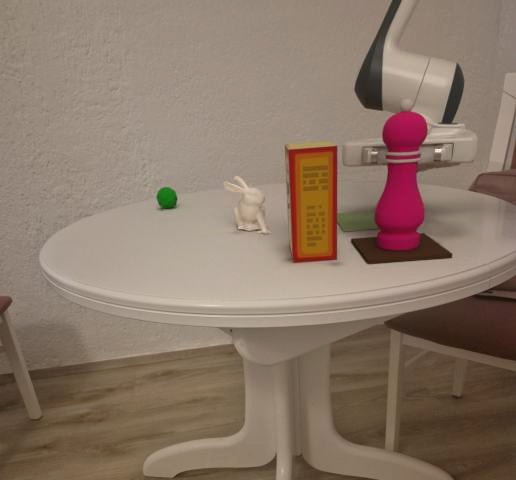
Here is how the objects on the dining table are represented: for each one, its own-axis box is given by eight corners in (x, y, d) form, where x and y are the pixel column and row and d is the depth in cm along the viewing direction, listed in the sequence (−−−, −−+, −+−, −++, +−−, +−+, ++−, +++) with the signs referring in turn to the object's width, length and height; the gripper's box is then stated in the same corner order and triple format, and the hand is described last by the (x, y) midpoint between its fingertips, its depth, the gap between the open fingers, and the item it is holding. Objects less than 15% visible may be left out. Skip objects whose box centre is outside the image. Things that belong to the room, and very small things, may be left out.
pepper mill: (428, 241, 74) (442, 95, 65) (412, 254, 69) (425, 98, 60) (383, 237, 78) (390, 99, 69) (365, 249, 73) (370, 101, 64)
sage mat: (392, 212, 96) (392, 209, 96) (410, 226, 85) (410, 223, 85) (332, 217, 96) (332, 214, 96) (343, 231, 85) (343, 228, 85)
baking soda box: (289, 245, 80) (284, 141, 72) (328, 242, 80) (327, 138, 72) (293, 262, 71) (288, 146, 64) (337, 259, 71) (337, 143, 64)
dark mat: (423, 236, 79) (424, 232, 79) (452, 257, 68) (452, 253, 68) (351, 242, 79) (351, 238, 79) (367, 264, 68) (368, 260, 68)
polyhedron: (171, 210, 114) (167, 189, 111) (154, 210, 116) (150, 189, 114) (182, 206, 118) (179, 185, 115) (166, 205, 120) (163, 185, 117)
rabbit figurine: (270, 234, 87) (267, 178, 83) (228, 237, 87) (223, 182, 83) (263, 220, 98) (260, 170, 94) (227, 223, 98) (222, 173, 93)
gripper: (347, 130, 84) (334, 137, 72) (475, 122, 78) (483, 129, 66) (347, 168, 87) (334, 180, 75) (470, 164, 80) (476, 177, 69)
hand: (405, 156), depth 70 cm, fingers open, 8 cm apart
